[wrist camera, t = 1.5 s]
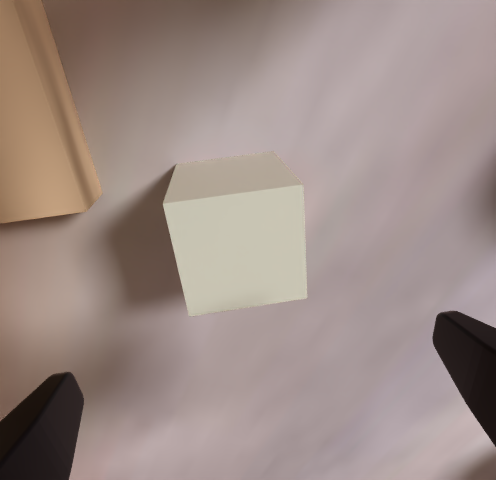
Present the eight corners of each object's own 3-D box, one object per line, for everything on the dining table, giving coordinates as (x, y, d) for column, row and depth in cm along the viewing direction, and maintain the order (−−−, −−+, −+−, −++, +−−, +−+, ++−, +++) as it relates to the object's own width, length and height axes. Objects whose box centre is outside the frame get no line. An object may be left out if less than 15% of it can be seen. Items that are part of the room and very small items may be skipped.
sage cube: (273, 150, 17) (303, 184, 12) (279, 237, 20) (307, 298, 14) (176, 163, 17) (162, 203, 12) (193, 249, 19) (188, 316, 14)
